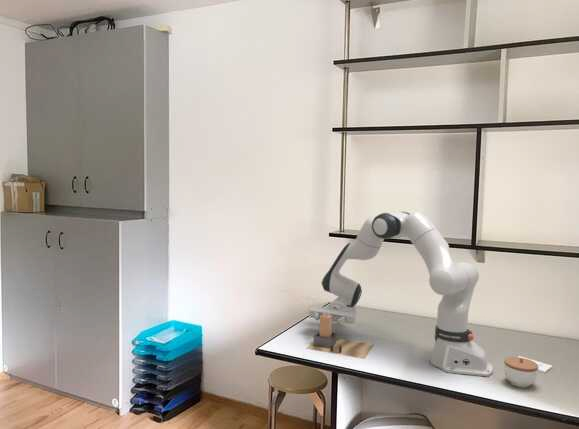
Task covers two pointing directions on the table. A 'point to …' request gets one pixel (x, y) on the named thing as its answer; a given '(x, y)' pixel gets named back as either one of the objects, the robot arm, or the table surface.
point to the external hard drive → (541, 366)
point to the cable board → (346, 348)
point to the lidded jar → (520, 371)
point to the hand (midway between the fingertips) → (327, 320)
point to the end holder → (325, 341)
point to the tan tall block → (325, 325)
